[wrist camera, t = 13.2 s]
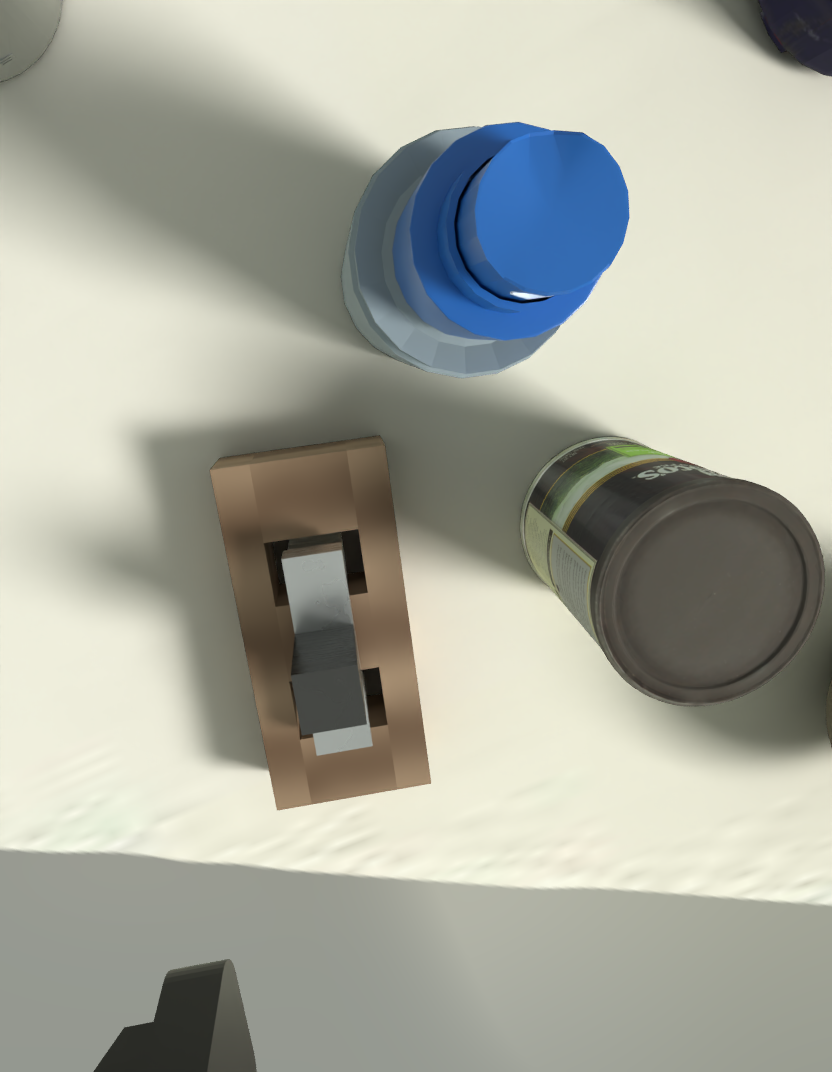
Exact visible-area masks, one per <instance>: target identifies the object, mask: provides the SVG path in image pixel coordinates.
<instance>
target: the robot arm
mask: <svg viewBox="0 0 832 1072" xmlns="http://www.w3.org/2000/svg"><path fill="white" fill-rule="evenodd" d="M62 2H63V0H0V82H1V81H6V80H8V79H10V78H12V77H14V76H16V75H18V74H20V73H22V72H24V71H25V70H26V69H28V68H29V67H30V66H31V65H32V64H33V63H34V62H36V61H37V60H38V59H39V58H40V57H41V55H42V54H43V52H44V51H45V50H46V48H47V47H48V45H49V44H50V43H51V41H52V38H53V36H54V33H55V31H56V29H57V26H58V24H59V20H60V14H61V8H62ZM94 1072H256V1063H255V1056H254V1051H253V1046H252V1042H251V1038H250V1033H249V1029H248V1025H247V1020H246V1016H245V1012H244V1007H243V1003H242V998H241V994H240V989H239V985H238V981H237V977H236V972H235V968H234V965H233V963H232V961H231V960H230V959H227V960H221V961H216V962H210V963H206V964H200V965H194V966H189V967H184V968H179V969H173V970H170V971H169V972H168V973H167V974H166V977H165V979H164V983H163V986H162V991H161V994H160V998H159V1003H158V1006H157V1011H156V1014H155V1019H154V1022H151V1023H146V1024H140V1025H135V1026H130V1027H125V1028H124V1029H123V1030H122V1032H121V1033H120V1035H119V1036H118V1037H117V1039H116V1040H115V1042H114V1043H113V1044H112V1046H111V1047H110V1049H109V1050H108V1052H107V1053H106V1055H105V1056H104V1057H103V1059H102V1060H101V1062H100V1063H99V1064H98V1066H97V1067H96V1069H95V1070H94Z"/></svg>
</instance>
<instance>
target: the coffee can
mask: <svg viewBox="0 0 832 1072" xmlns="http://www.w3.org/2000/svg"><path fill="white" fill-rule="evenodd" d="M520 532H521V540H522V545H523V549H524V552H525V555H526V557H527V560H528V562H529V564H530V566H531V567H532V569H533V570H534V571H535V573H536V574H537V575H538V577H539V578H540V579H541V580H542V581H543V582H544V583H545V584H547V585H548V586H549V587H550V588H551V590H552V591H553V592H554V593H555V594H556V596H557V597H558V598H559V599H560V600H561V601H562V602H563V604H564V605H565V606H566V607H567V608H568V610H569V611H570V612H571V613H572V614H573V615H574V617H575V618H576V619H577V620H578V621H579V622H580V624H581V625H582V626H583V627H584V628H585V630H586V631H587V632H588V633H589V634H590V636H591V637H592V638H593V639H594V640H595V641H596V643H597V644H598V645H599V646H600V647H601V649H602V650H603V652H604V654H605V655H606V657H607V659H608V660H609V662H610V663H611V665H612V666H613V667H614V669H615V670H616V671H617V672H618V673H619V674H620V675H621V677H622V678H623V679H624V680H625V681H626V682H628V683H629V684H630V685H631V686H633V687H634V688H635V689H637V690H639V691H640V692H642V693H644V694H645V695H647V696H649V697H652V698H654V699H657V700H659V701H662V702H666V703H670V704H673V705H680V706H708V705H715V704H720V703H724V702H728V701H732V700H734V699H737V698H739V697H742V696H744V695H746V694H748V693H750V692H752V691H754V690H756V689H758V688H760V687H761V686H763V685H764V684H766V683H767V682H768V681H770V680H771V679H772V678H774V677H775V676H776V675H777V674H779V673H780V672H781V671H782V670H783V669H784V668H785V667H787V666H788V665H789V663H790V662H791V661H792V660H793V659H794V658H795V657H796V655H797V654H798V653H799V651H800V650H801V648H802V647H803V646H804V644H805V643H806V641H807V639H808V638H809V636H810V634H811V632H812V630H813V627H814V625H815V623H816V620H817V617H818V614H819V611H820V607H821V604H822V599H823V594H824V585H825V569H824V561H823V555H822V553H821V549H820V545H819V542H818V540H817V538H816V535H815V533H814V531H813V529H812V528H811V526H810V524H809V523H808V521H807V520H806V518H805V517H804V516H803V514H802V513H801V512H800V511H799V510H798V508H797V507H796V506H794V505H793V504H792V503H791V502H790V501H788V500H787V499H786V498H784V497H783V496H782V495H780V494H778V493H776V492H774V491H772V490H770V489H769V488H767V487H764V486H761V485H758V484H755V483H752V482H749V481H745V480H741V479H734V478H731V477H727V476H725V475H721V474H719V473H716V472H714V471H711V470H708V469H705V468H703V467H700V466H698V465H695V464H692V463H689V462H686V461H683V460H681V459H678V458H675V457H673V456H670V455H667V454H664V453H661V452H659V451H656V450H653V449H651V448H649V447H647V446H645V445H643V444H641V443H639V442H637V441H634V440H630V439H626V438H619V437H602V438H595V439H590V440H586V441H583V442H580V443H578V444H575V445H573V446H571V447H568V448H567V449H565V450H563V451H562V452H560V453H559V454H558V455H556V456H555V457H554V458H553V459H551V460H550V461H549V462H548V463H547V464H546V465H545V466H544V467H543V469H542V470H541V471H540V472H539V473H538V475H537V476H536V478H535V479H534V481H533V483H532V484H531V486H530V488H529V490H528V492H527V495H526V497H525V500H524V503H523V507H522V512H521V521H520Z"/></svg>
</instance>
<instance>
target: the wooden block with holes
mask: <svg viewBox="0 0 832 1072" xmlns="http://www.w3.org/2000/svg"><path fill="white" fill-rule="evenodd" d="M210 474H211V479H212V484H213V489H214V494H215V499H216V504H217V509H218V514H219V519H220V525H221V530H222V535H223V540H224V545H225V550H226V555H227V560H228V565H229V570H230V575H231V580H232V585H233V590H234V595H235V600H236V605H237V610H238V615H239V620H240V625H241V631H242V636H243V641H244V646H245V651H246V656H247V661H248V666H249V671H250V676H251V681H252V686H253V691H254V696H255V701H256V706H257V711H258V716H259V721H260V726H261V731H262V737H263V742H264V747H265V752H266V757H267V762H268V767H269V772H270V777H271V782H272V787H273V792H274V797H275V802H276V807H277V810H282V809H288V808H294V807H300V806H305V805H311V804H317V803H322V802H328V801H334V800H339V799H345V798H351V797H357V796H362V795H368V794H374V793H379V792H385V791H391V790H397V789H402V788H408V787H414V786H419V785H425V784H431V778H430V771H429V764H428V756H427V749H426V742H425V734H424V727H423V720H422V712H421V705H420V698H419V690H418V683H417V676H416V668H415V661H414V654H413V646H412V639H411V632H410V624H409V617H408V610H407V603H406V595H405V588H404V581H403V573H402V566H401V559H400V551H399V544H398V537H397V529H396V522H395V515H394V507H393V500H392V493H391V485H390V478H389V471H388V463H387V456H386V449H385V444H384V442H383V440H382V439H381V437H380V435H379V436H372V437H365V438H358V439H351V440H344V441H337V442H329V443H322V444H315V445H308V446H301V447H294V448H287V449H280V450H273V451H265V452H258V453H251V454H244V455H237V456H230V457H223V458H219V460H218V461H217V462H216V463H215V464H214V466H213V467H212V468H211V469H210ZM355 529H358V532H359V539H360V545H361V552H362V559H363V565H364V571H362V572H355V573H349V574H347V582H348V589H349V595H350V602H351V608H352V614H353V621H354V627H355V633H356V640H357V646H358V652H359V659H360V665H361V670H364V669H370V668H376V667H379V672H380V679H381V685H382V692H383V694H377V695H371V696H367V705H368V714H369V722H370V728H371V735H372V744H373V746H371V747H365V748H359V749H353V750H348V751H342V752H336V753H330V754H324V755H319V756H317V754H316V748H315V743H314V737H313V734H308V735H302V734H301V728H300V723H299V717H298V712H297V707H296V701H295V696H294V690H293V685H292V680H291V669H292V658H293V648H294V638H295V632H294V627H293V621H292V616H291V610H290V604H289V599H288V593H287V588H286V583H284V584H280V583H279V578H278V572H277V567H276V561H275V555H274V550H273V544H272V542H275V541H281V540H288V539H295V538H301V537H308V536H315V535H321V534H328V533H335V532H342V531H348V530H355Z"/></svg>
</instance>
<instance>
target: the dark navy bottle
mask: <svg viewBox="0 0 832 1072" xmlns="http://www.w3.org/2000/svg"><path fill="white" fill-rule="evenodd" d="M758 1H759V3H760V6H761V8H762V12H760V15H761V17H762V20H763V22H764V25H765V27H766V30H767V32H768V35H769V36H770V37H771V39H772V40H773V42H774V43H775V45H776V46H777V48H778V49H779V50H780V52H781V53H782V52H785V51H788V52H789V53H790V54H791V55H792V56H793V57H795V58H796V59H797V60H798V61H799V62H800V63H801V64H803V65H805V66H807V67H809V68H811V69H813V70H815V71H817V72H819V73H821V74H823V75H827V76H832V0H758Z"/></svg>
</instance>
